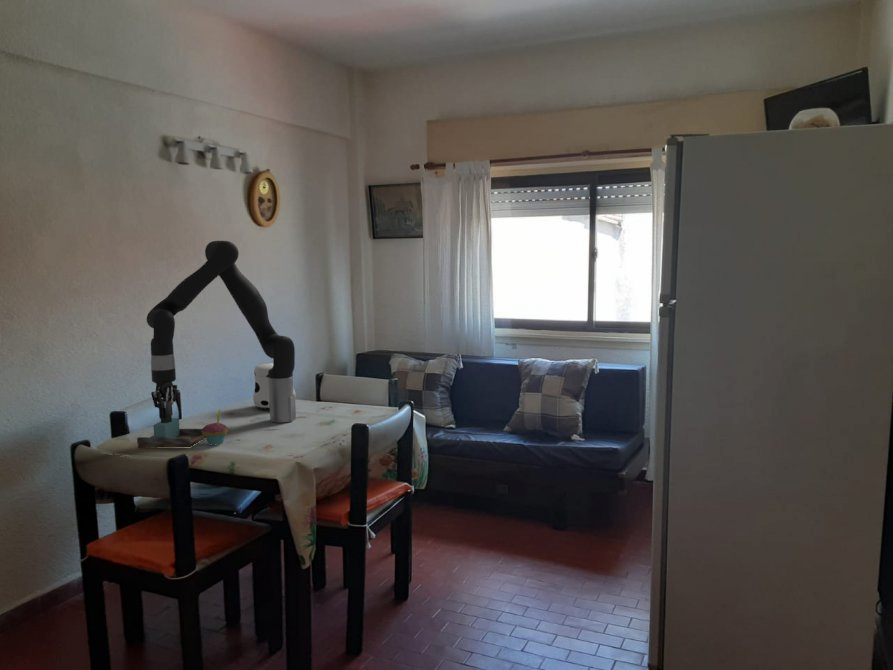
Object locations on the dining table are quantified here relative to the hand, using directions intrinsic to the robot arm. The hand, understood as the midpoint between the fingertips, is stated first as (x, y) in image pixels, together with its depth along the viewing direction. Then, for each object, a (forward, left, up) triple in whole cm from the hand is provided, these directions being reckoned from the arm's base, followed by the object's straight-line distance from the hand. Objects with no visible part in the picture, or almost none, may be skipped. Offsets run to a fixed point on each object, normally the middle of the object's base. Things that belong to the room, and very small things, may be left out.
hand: (166, 417), depth 225 cm
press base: (-2, 0, -9) cm, 9 cm away
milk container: (-20, -55, -9) cm, 59 cm away
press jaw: (0, 0, -8) cm, 8 cm away
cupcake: (-17, 0, -9) cm, 19 cm away
